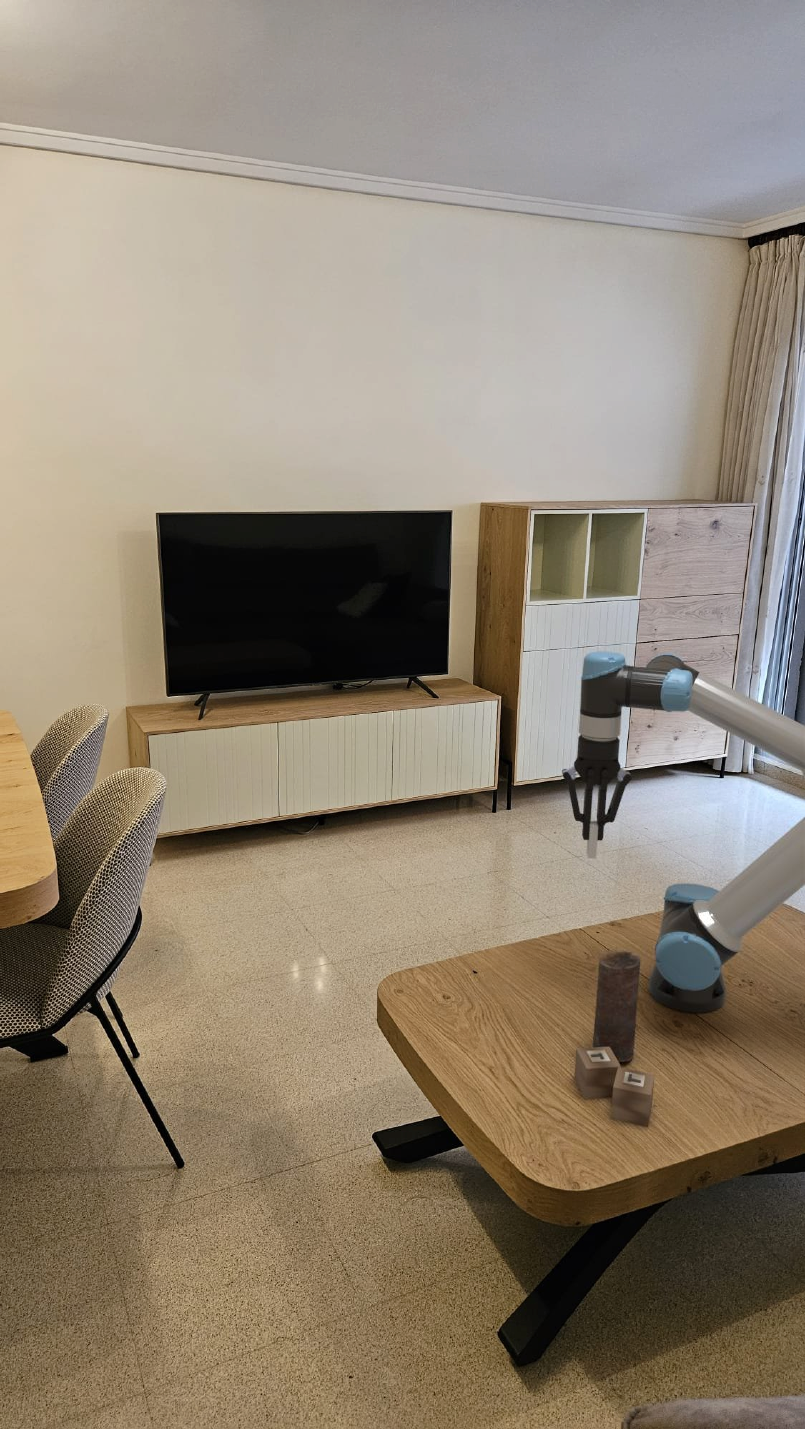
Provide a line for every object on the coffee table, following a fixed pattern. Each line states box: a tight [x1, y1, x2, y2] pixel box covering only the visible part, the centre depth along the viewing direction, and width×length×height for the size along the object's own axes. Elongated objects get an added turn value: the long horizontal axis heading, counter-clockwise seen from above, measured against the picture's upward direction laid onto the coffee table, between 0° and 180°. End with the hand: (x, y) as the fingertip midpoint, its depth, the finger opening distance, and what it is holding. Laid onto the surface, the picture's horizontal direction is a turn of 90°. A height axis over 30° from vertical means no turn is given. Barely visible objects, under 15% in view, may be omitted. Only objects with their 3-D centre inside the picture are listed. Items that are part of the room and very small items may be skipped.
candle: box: [592, 949, 641, 1063], centre depth 177 cm, size 8×7×20 cm
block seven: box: [610, 1066, 656, 1128], centre depth 163 cm, size 6×6×6 cm
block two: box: [573, 1046, 622, 1101], centre depth 169 cm, size 6×6×6 cm
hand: (591, 855), depth 187 cm, fingers closed
